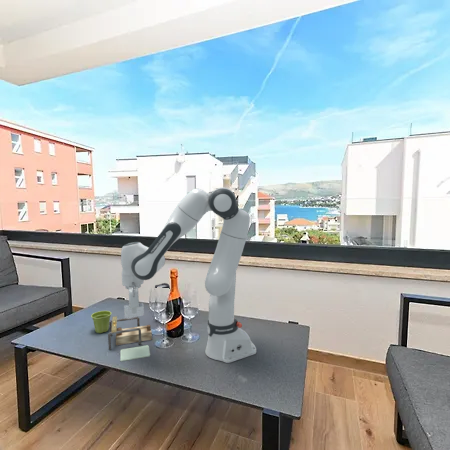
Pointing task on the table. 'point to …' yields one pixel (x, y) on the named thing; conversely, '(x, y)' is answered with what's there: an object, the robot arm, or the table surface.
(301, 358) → the table surface
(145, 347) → the sage mat
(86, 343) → the table surface
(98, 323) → the plant pot
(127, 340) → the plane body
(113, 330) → the brass bolt
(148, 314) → the table surface
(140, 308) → the grey block with handle
